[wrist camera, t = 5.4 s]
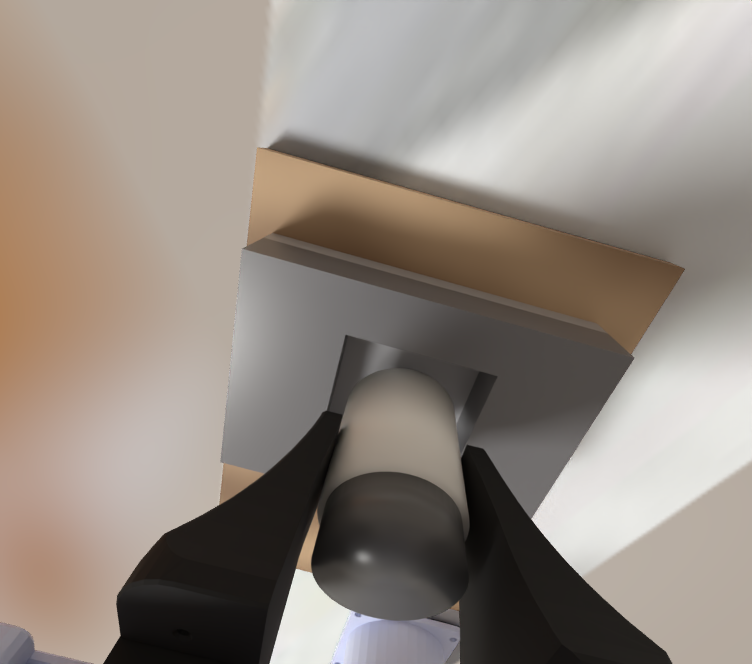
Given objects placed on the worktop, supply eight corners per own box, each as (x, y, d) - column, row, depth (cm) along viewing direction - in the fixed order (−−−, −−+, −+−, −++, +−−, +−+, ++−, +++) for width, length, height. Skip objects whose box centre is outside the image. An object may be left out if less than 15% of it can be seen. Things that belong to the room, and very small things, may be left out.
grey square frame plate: (596, 323, 16) (634, 357, 13) (503, 489, 20) (516, 540, 17) (272, 232, 16) (242, 248, 13) (247, 420, 20) (220, 461, 17)
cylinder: (436, 465, 16) (447, 639, 11) (338, 441, 16) (294, 603, 11) (469, 383, 14) (503, 541, 9) (357, 356, 14) (315, 496, 9)
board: (464, 597, 26) (466, 613, 25) (221, 533, 25) (214, 547, 24) (669, 262, 15) (685, 268, 15) (266, 148, 15) (257, 147, 14)
